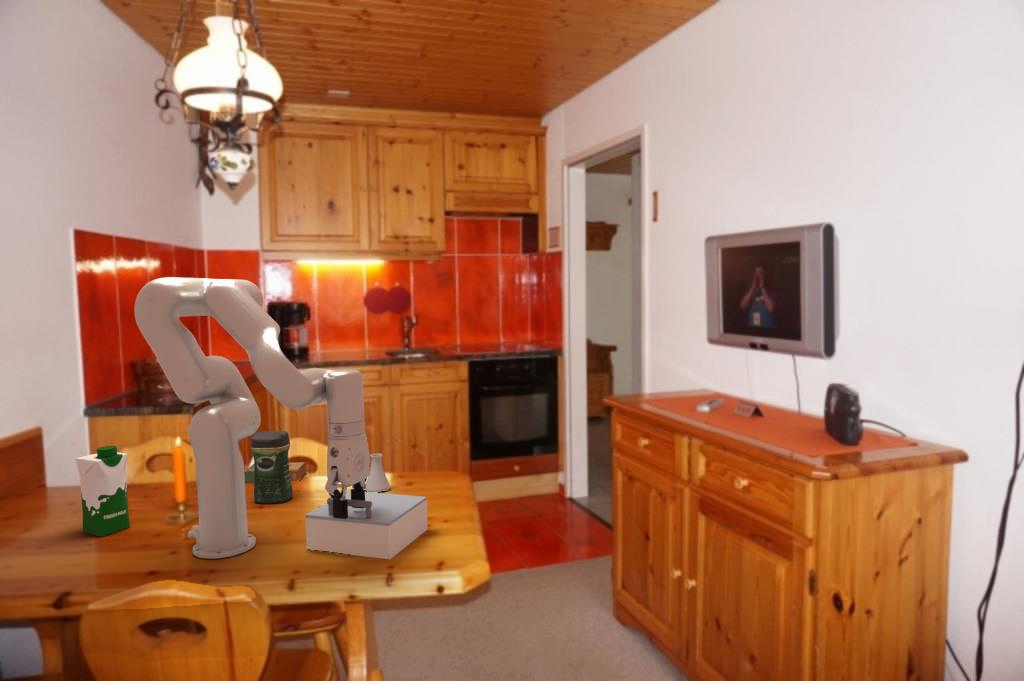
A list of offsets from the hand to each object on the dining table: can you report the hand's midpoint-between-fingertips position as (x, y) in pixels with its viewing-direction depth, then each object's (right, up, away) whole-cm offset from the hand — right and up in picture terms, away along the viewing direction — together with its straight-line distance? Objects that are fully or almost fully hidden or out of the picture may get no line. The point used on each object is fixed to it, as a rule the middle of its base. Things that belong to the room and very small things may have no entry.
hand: (349, 512), depth 142 cm
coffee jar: (-30, -7, +38) cm, 49 cm away
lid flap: (+2, -1, +7) cm, 8 cm away
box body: (+3, -8, +8) cm, 11 cm away
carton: (-36, -6, +59) cm, 70 cm away
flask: (-3, -6, +45) cm, 46 cm away
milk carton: (-62, -9, +17) cm, 65 cm away
